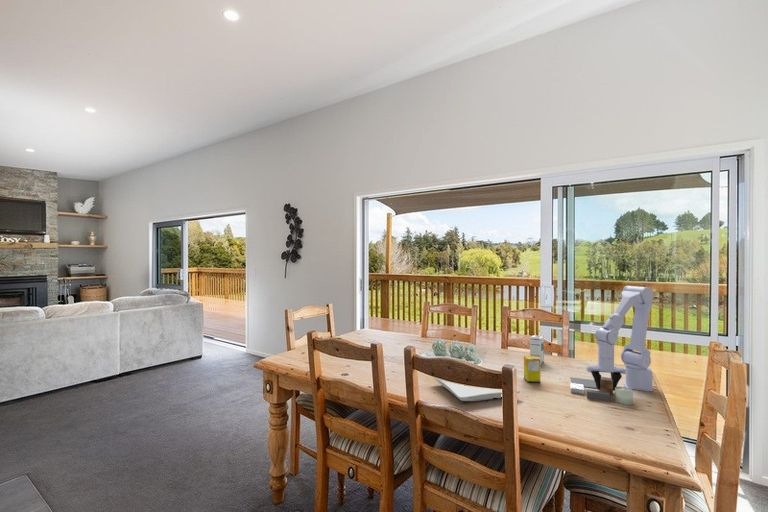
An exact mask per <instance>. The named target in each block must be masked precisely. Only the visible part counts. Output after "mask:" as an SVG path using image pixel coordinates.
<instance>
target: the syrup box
mask: <svg viewBox="0 0 768 512" xmlns="http://www.w3.org/2000/svg"><path fill="white" fill-rule="evenodd" d="M544 338H545V337H544V336H542V335H532V336H530V337H529V356H537V357H538V358H539V359H540V366H541V365H542V364H544V362H545V350H544V349H545V346H544V345H545V344H544V342H545V339H544Z"/></svg>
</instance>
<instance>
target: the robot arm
mask: <svg viewBox="0 0 768 512" xmlns="http://www.w3.org/2000/svg"><path fill="white" fill-rule="evenodd" d="M653 300H654V292H653V290H652V289H651V288H650V287H648V286H634V285H626V286H624V287H623V288H622V291H621V299H620V301H619V303H618V306H617V308H616V310H615V311H614V313H610V314H609V316H608V317H607V319H606V321H605V322H604V324H603V325H602V327H600V328H598V329H597V330H596V331H595V334H594V338H595V340H596V344H597V346H598V348H597V356H598V358H597V365H589V366H588V365H587V366H586V371H587V372H588V373H590V374H591V375H592V377H593V380H595V383H596V388H597V389H596V390H597V391H599V390H600V380H601V377H602V374H601V373H609V374H610V378H612V380H613V392H615V387H618V385H619V382H620V380H621V379H622V377H623V376H622V375H625V381H623V382H622V383H623V385H624V387H626V388H629V389H632V390H635V391H644V392H645V391H646V392H654V391H653V372H652V371H653V370H652V369H651V368H649V367H650V365H651V364H652V363H651V362H652V359H651V351H650V350H649V349H648V348H647V347H646V346H645V345H646V344H645V343H646V338H647V332H648V325H649V319H650V314H651V313H650V312H651V307H652V306H653ZM632 307H634V308H635V309H634V315H633V322H632V329H631V335H630V342H629V343H628V344H626V345H624V346H623V350H622V351H621V354H620V359H621V362H622V363H623V365H624V366H625V368H624V367H617V366H615V343H617V341H618V339H619V334H620V333H619V331H620V329H621V328H622V326H623V324H624V323H625V320H624V318H625V316H626V314H627V313H628V312H629V310H630V309H631V308H632Z"/></svg>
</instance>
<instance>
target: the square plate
mask: <svg viewBox="0 0 768 512" xmlns="http://www.w3.org/2000/svg"><path fill="white" fill-rule="evenodd" d="M434 380H435V381H436V382H437V383H438V384H440V385H441V386H442V387H444V388H446V389H447V390H448V391H449V392H450V393H451V394H453V396H455V397H456V398H457V399H458V400H460V401H462V402H479V401H486V400H494V399H493V398H498V399H502V398H501V394H502V393H501V391H498V390H491V389H481V388H475V387H468V386H464V385H458V384H454V383H450V382H446V381H442V380H439V379H436V378H434ZM496 391H497V392H496ZM517 393H518V394H519V393H520V390H519V389H517Z"/></svg>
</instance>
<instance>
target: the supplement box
mask: <svg viewBox="0 0 768 512" xmlns="http://www.w3.org/2000/svg"><path fill="white" fill-rule="evenodd" d="M523 380H525V382H526V383H528V384H530V383H531V384H534V383H535V384H541V380H542V379H541V365H540V359H539V358H538V357H537V356H530V355H523Z"/></svg>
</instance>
